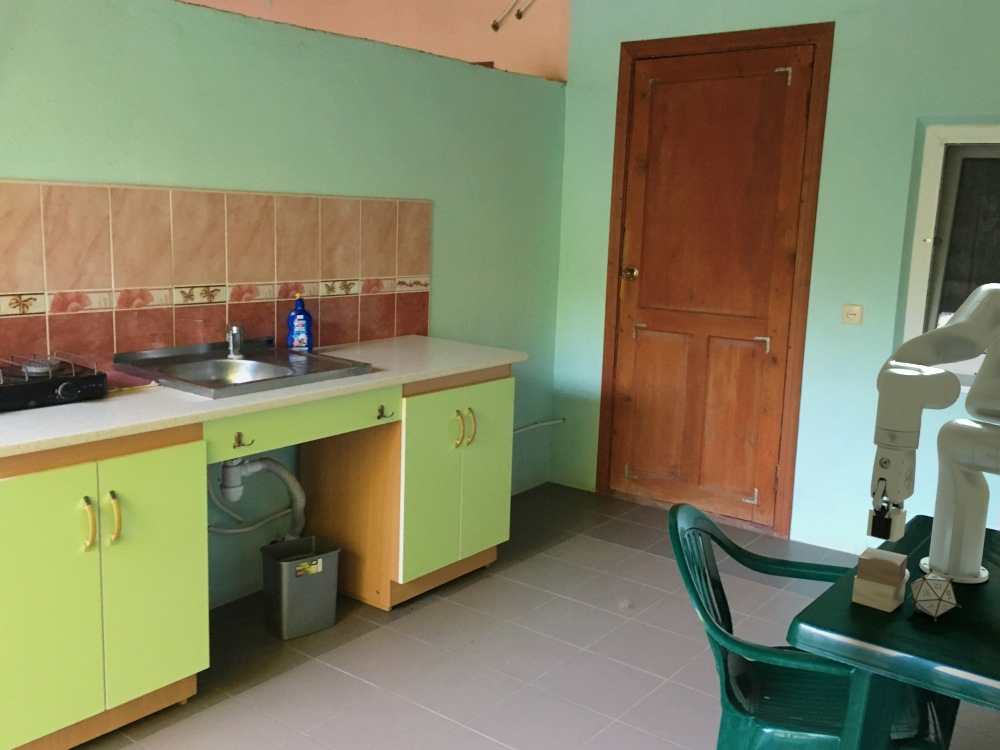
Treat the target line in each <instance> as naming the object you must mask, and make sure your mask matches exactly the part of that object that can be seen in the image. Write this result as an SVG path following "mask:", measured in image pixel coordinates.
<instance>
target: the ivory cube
mask: <svg viewBox="0 0 1000 750" xmlns="http://www.w3.org/2000/svg"><path fill="white" fill-rule="evenodd" d="M884 505H885V504H884ZM885 507H886V509H887V504H886V505H885ZM873 509H874V508H873V506H872V507H870V508H869V510H868V518H867V529H866V536H868V537H872V538H876V539H880V540H883V541H884V540H885V539H881V538H877V537H873V536H871V529H872V520H873ZM907 513H908V510H907V509H904V508H903V509H900V508H896V507H892V510H891V515H890V518H892V523H891V531H890V538H889V539H888V540H885V541H888V542H891V543H895V542H897V541H899V540H900V539H902V538H903V537H905V536H904V535H905V529H906V521H907V520H906V519H907Z"/></svg>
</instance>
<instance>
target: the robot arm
mask: <svg viewBox="0 0 1000 750" xmlns="http://www.w3.org/2000/svg"><path fill="white" fill-rule="evenodd" d="M984 352H985V355H984V358H983V361H982V363H981V365H980V367H979V369H978V372H977V374H976V375H975V377H974V379H973V382H972V384H971V386H970V388H969V389H968V392H967V395H966V397H965V403H964V408H965V410H966V413H967V415H969V416H971V417H972V418H974V419H975V420H974V419H968V418H956V419H951V420H949V421H947V422H944V423H943V424H942V426H941V427H940V428H939V430H938V433H937V437H936V438H937V439H936V450H937V459H938V461H937V462H938V465H937V466H938V475H937V487H936V493H935V494H936V496H935V501H934V502H935V503H934V511H933V512H934V513H933V520H932V529H931V538H930V539H931V540H930V545H929V552H928V554H929V555H928V556H926V557H923V558H921V559H920V561H919V567H920V569H921V570H922V572H924V573H926V574H928V573H930V571H929V569H930V568H932V569H933V570H932V573H934V574H937V575H939V576H941V577H943V578H945V579H947V580H950V579H951V578H954V579H953V581H951V583H952V582H954V583H958V584H979V583H981V584H982V583H984V582H986V581H988V579H989V574H990V573H989V571H988V570H987V568H985V567H984V566H982V560H983V559H982V558H983V552H984V543H985V537H986V527H987V519H988V511H989V506H990V505H989V503H990V497H991V495H990V486H989V484H988V481H987V479H986V477H985V475H984V473H988V474H992V475H995V476H1000V283H987V284H982V285H981V286H978V287H976V288H975V289H974V290H973V291H972V292H970V295H968V297H967V298H966V299H965V300H964V302H962V304H960V306H959V308H957V310H956V311H955V312H954V314H953V315H952V316H951V317H950V318H949V319H948V320H947V322H946V323H945V324H944V325H942V326H940V327H936V328H935V329H932V330H929V331H927V332H924V333H922V334H919V335H918V336H915V337H913V338H911V339H909V340H907V341H905V342H903V343H902V344H901V345H899V346H898V347H897V348H896V349H895V350H894V351H893V352H892V354H890V356H889V357H888V358H887V359H886V361H885V362H884V363H883V365H882V367H881V368H880V370H879V372H878V374H877V378H876V389H877V392H878V399H877V408H876V417H875V426H874V436H873V444H874V445H876V452H875V456H874V461H873V467H872V475H871V480H870V497H871V499H872V501H871V504H872V507H873V508H874V509H873V520H872V529H871V536H873V537H872V538H875V537H877V538H876V539H879V538H881V539H880V540H883V539H885V541H887V540H888V539H889V538H890V531H891V523H892V518H890V515H891V510H892V507H896V508H900V509H904V507H905V506H904V505H905V504H904V503H905V501H906V500H907V499H909V498H910V497H912V496H913V495H914V492H915V484H916V483H915V482H916V481H915V479H916V470H917V469H916V468H917V467H916V466H917V465H916V464H917V452H916V451H917V450H918V449H919V445H920V436H921V428H922V419H923V412H924V410H925V409H927V410H937V411H939V410H940V411H941V410H945V409H948V408H950V407H952V406H953V405H954V404H955V403H956V402H957V401H958V399H959V397H960V395H961V391H962V385H961V381H960V380H959V377H958V376H957V375H956V374H955V373H953V372H952V371H950V370H947V369H944V368H939V367H935V366H938V365H945V364H946V365H947V364H953V363H954V364H955V363H960V362H965V361H968V360H970V361H971V360H973V359H976V358H978V357H980V356H981V355H982V354H983V353H984ZM933 366H934V367H933ZM979 420H980V421H979ZM884 497H885V498H886V499H884ZM885 504H886V505H887V509H886V507H885ZM871 536H870V537H871Z"/></svg>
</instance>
